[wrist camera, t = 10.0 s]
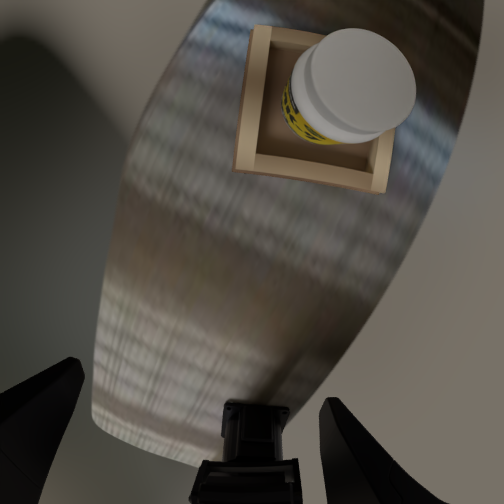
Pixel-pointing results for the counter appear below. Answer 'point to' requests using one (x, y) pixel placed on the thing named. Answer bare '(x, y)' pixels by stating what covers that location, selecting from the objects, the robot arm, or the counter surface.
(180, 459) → the counter surface
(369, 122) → the supplement bottle
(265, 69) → the jig cradle
